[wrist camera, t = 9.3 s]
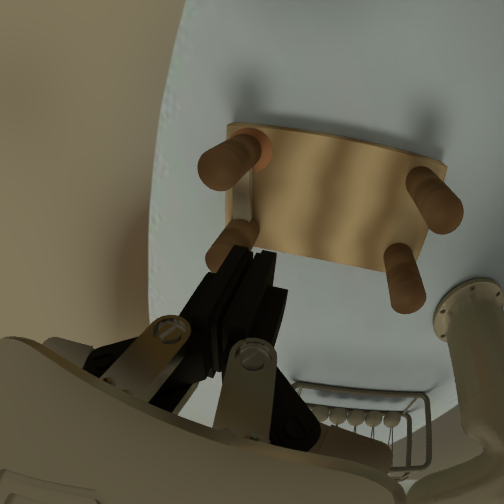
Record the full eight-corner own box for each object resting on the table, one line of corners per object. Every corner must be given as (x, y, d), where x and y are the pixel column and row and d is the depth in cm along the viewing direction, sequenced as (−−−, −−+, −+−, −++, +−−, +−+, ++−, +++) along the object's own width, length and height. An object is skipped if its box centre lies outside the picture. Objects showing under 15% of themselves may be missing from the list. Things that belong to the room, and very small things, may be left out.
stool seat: (441, 161, 24) (477, 193, 16) (406, 267, 32) (420, 322, 24) (233, 122, 28) (193, 138, 21) (230, 232, 36) (200, 277, 29)
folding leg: (259, 244, 33) (241, 281, 27) (230, 239, 34) (206, 274, 28) (261, 134, 26) (239, 149, 20) (226, 133, 27) (196, 147, 21)
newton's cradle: (429, 391, 44) (432, 469, 29) (410, 413, 49) (408, 481, 35) (290, 379, 51) (268, 461, 37) (286, 401, 57) (267, 472, 42)
